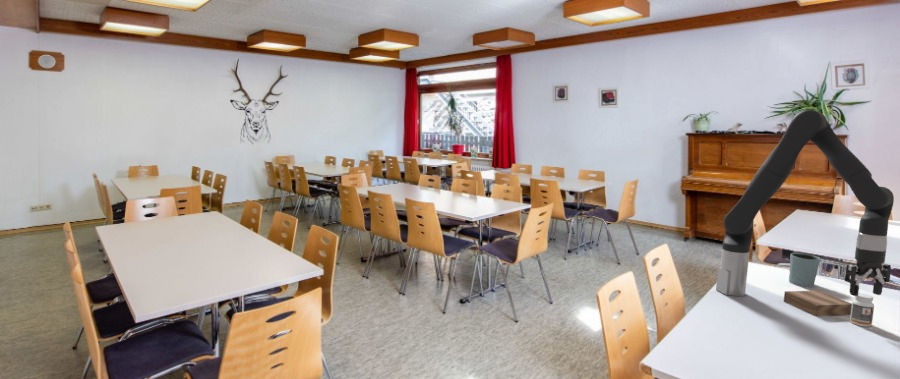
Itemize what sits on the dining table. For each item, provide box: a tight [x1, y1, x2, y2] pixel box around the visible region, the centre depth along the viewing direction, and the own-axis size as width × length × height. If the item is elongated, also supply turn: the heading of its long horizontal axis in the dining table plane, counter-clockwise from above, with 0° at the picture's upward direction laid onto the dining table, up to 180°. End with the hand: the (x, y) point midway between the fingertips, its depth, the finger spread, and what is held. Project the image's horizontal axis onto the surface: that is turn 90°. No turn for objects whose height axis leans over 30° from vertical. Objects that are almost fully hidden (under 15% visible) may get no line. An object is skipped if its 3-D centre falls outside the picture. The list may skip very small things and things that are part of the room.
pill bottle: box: [849, 292, 875, 328], centre depth 161 cm, size 6×6×10 cm
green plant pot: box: [788, 252, 821, 288], centre depth 202 cm, size 10×10×12 cm
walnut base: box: [783, 290, 852, 317], centre depth 175 cm, size 14×14×4 cm
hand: (865, 294), depth 160 cm, fingers open, 8 cm apart
